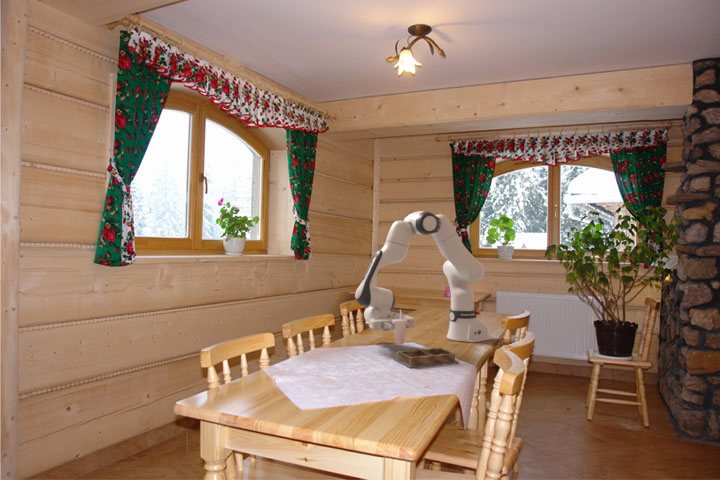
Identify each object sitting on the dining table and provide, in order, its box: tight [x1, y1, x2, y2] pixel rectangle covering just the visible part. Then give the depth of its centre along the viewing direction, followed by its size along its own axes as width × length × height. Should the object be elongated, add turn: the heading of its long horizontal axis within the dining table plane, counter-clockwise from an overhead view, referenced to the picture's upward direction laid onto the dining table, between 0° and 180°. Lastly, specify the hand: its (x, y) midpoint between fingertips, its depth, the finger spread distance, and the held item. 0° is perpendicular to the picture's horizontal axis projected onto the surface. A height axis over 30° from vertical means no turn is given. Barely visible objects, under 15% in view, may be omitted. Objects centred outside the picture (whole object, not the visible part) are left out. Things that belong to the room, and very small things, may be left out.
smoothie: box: [392, 309, 407, 345], centre depth 199 cm, size 6×6×14 cm
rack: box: [396, 347, 456, 366], centre depth 188 cm, size 20×10×3 cm, turn 114°
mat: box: [393, 357, 460, 369], centre depth 188 cm, size 22×13×1 cm, turn 114°
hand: (400, 326), depth 199 cm, fingers closed on smoothie, 6 cm apart
